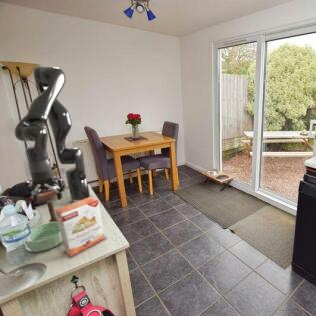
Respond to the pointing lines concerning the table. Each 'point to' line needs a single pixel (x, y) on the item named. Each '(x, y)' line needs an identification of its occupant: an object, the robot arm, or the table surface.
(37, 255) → the table surface
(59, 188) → the robot arm
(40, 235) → the bowl
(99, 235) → the cracker box
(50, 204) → the pestle
